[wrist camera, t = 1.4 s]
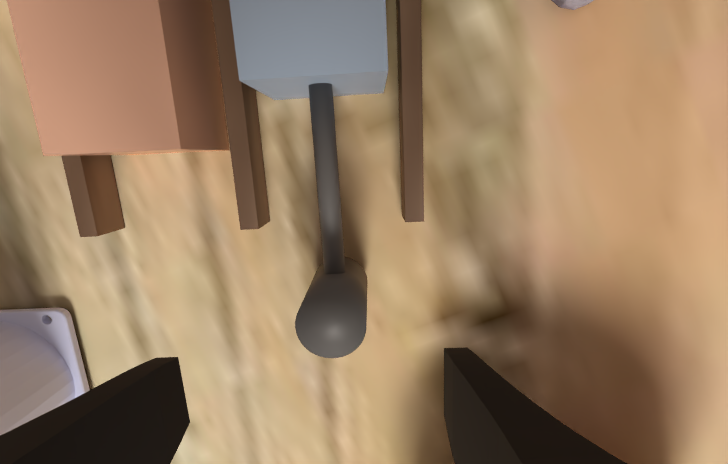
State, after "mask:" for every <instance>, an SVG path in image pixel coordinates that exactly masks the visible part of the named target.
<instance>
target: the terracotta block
mask: <svg viewBox="0 0 728 464" xmlns="http://www.w3.org/2000/svg"><path fill="white" fill-rule="evenodd" d="M7 3H8V7H9V12H10V16H11V20H12V24H13V29H14V33H15V37H16V41H17V45H18V50H19V54H20V58H21V62H22V67H23V71H24V75H25V79H26V84H27V88H28V92H29V96H30V101H31V105H32V109H33V113H34V118H35V122H36V126H37V130H38V135H39V139H40V143H41V147H42V151H43V156H60V155H139V154H160V153H182V152H204V151H225V150H229V142H228V134H227V126H226V118H225V110H224V102H223V94H222V86H221V78H220V70H219V62H218V54H217V46H216V38H215V30H214V22H213V13H212V5H211V0H7Z"/></svg>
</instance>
